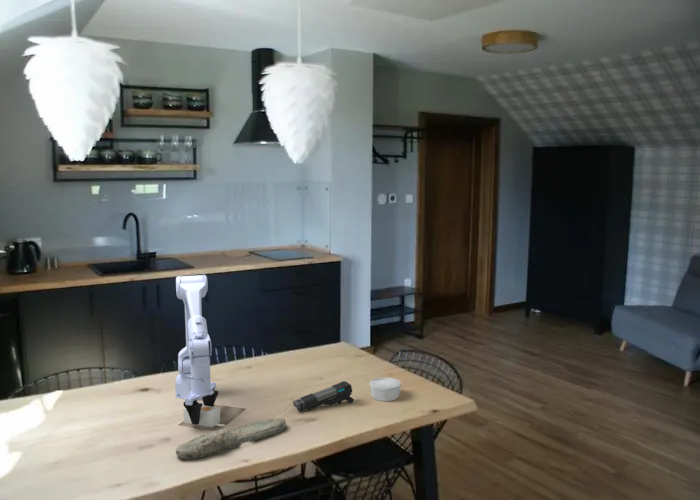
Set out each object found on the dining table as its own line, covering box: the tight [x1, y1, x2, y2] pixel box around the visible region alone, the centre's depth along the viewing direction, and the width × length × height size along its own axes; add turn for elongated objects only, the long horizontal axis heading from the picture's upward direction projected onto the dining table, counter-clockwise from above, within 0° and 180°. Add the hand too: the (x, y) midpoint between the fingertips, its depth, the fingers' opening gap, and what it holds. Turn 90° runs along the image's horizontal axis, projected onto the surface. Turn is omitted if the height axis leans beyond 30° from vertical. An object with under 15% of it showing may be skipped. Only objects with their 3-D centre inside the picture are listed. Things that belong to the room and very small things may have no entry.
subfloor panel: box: [178, 403, 247, 432], centre depth 190 cm, size 14×18×1 cm
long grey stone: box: [175, 417, 287, 460], centre depth 174 cm, size 35×5×10 cm
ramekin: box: [368, 377, 402, 402], centre depth 210 cm, size 11×11×5 cm
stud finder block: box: [183, 404, 220, 427], centre depth 185 cm, size 10×4×5 cm, turn 72°
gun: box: [292, 380, 355, 413], centre depth 201 cm, size 4×20×10 cm, turn 116°
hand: (202, 419), depth 185 cm, fingers open, 7 cm apart
